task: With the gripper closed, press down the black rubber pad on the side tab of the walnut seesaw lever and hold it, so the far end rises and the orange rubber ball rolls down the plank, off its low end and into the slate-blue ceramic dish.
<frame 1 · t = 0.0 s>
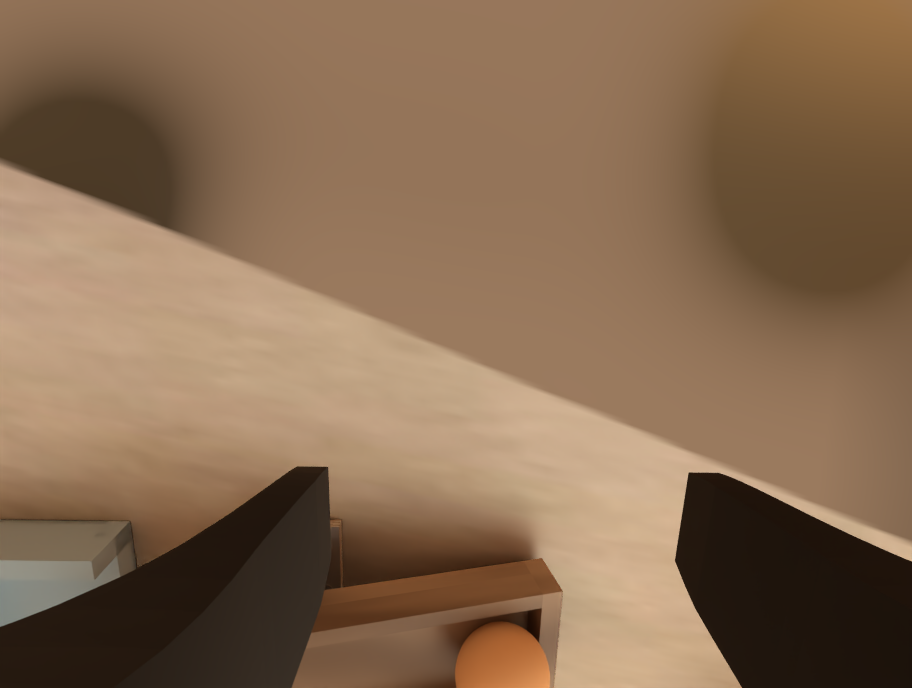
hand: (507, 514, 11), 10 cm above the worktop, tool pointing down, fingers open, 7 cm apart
fulcrum: (315, 605, 23), on the worktop
dish: (38, 603, 23), on the worktop
ball: (502, 674, 20), point 3 cm above the worktop, tilted 15°, touching lever
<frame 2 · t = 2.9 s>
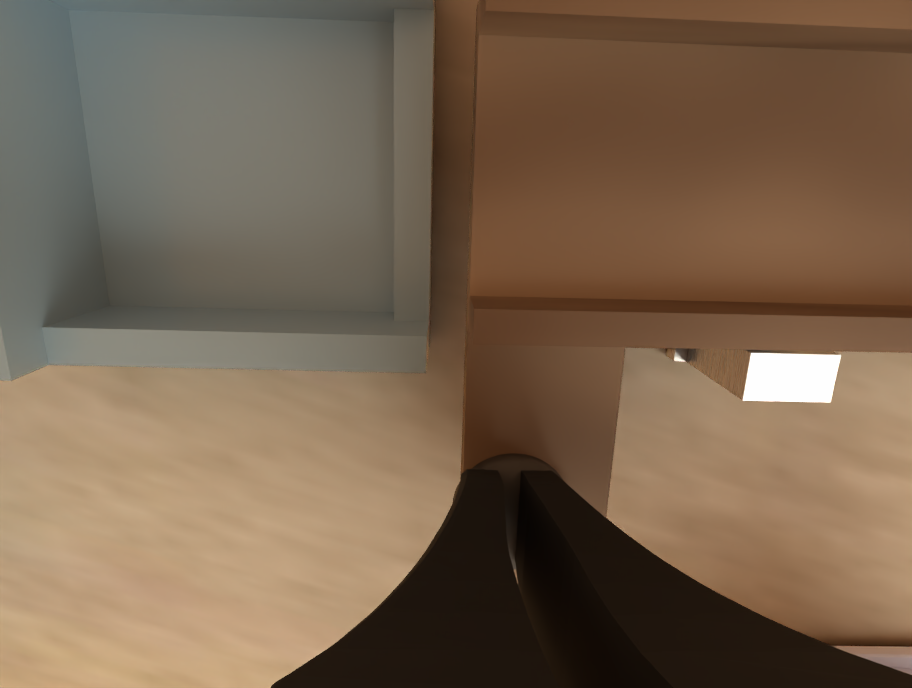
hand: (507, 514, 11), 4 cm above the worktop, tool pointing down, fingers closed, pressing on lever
fulcrum: (738, 187, 13), on the worktop
dish: (248, 172, 13), on the worktop
lever: (877, 335, 11), point 3 cm above the worktop, hinge at -1.1°, touching ball, gripper
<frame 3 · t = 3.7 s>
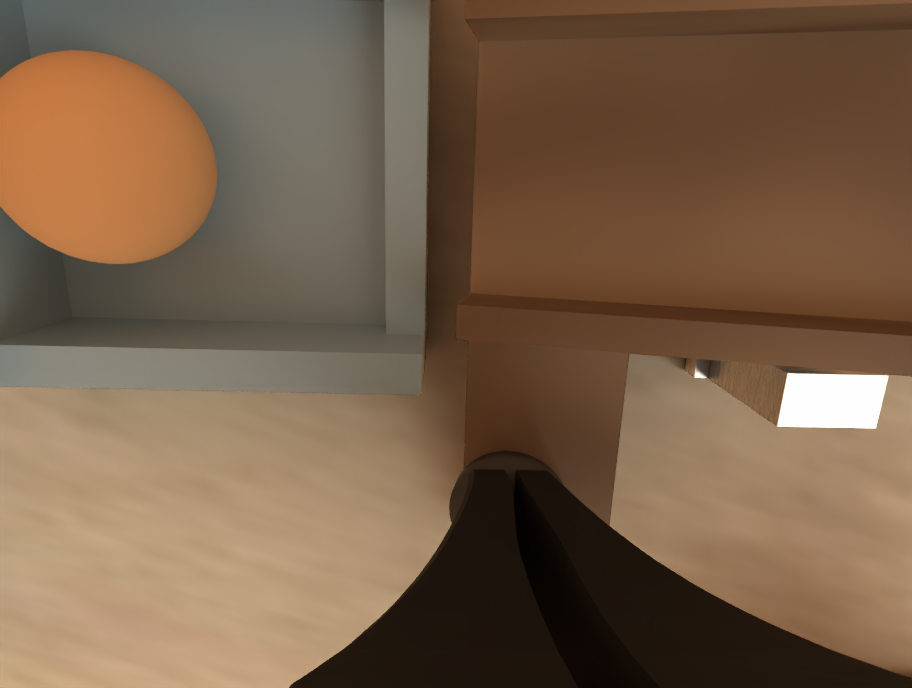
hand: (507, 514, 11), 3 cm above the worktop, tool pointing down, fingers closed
fulcrum: (766, 186, 12), on the worktop
dish: (223, 170, 11), on the worktop
ball: (108, 163, 10), point 2 cm above the worktop, tilted 14°, touching dish
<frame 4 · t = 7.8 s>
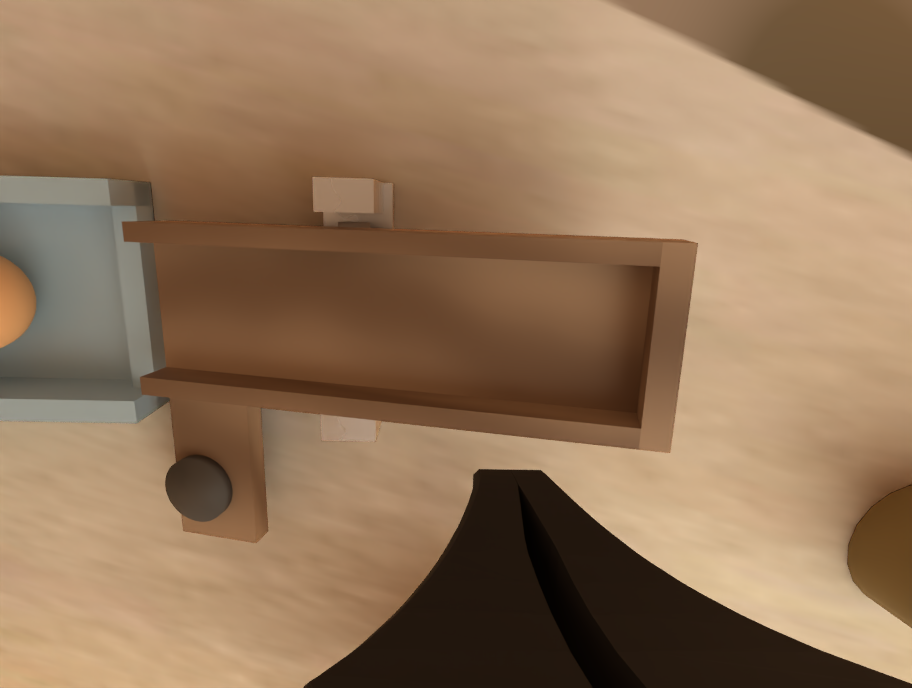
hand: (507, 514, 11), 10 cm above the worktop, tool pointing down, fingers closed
fulcrum: (361, 300, 20), on the worktop
dish: (42, 292, 20), on the worktop
lever: (391, 406, 17), point 4 cm above the worktop, hinge at 13.2°
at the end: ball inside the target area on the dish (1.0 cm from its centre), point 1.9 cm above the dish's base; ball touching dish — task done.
